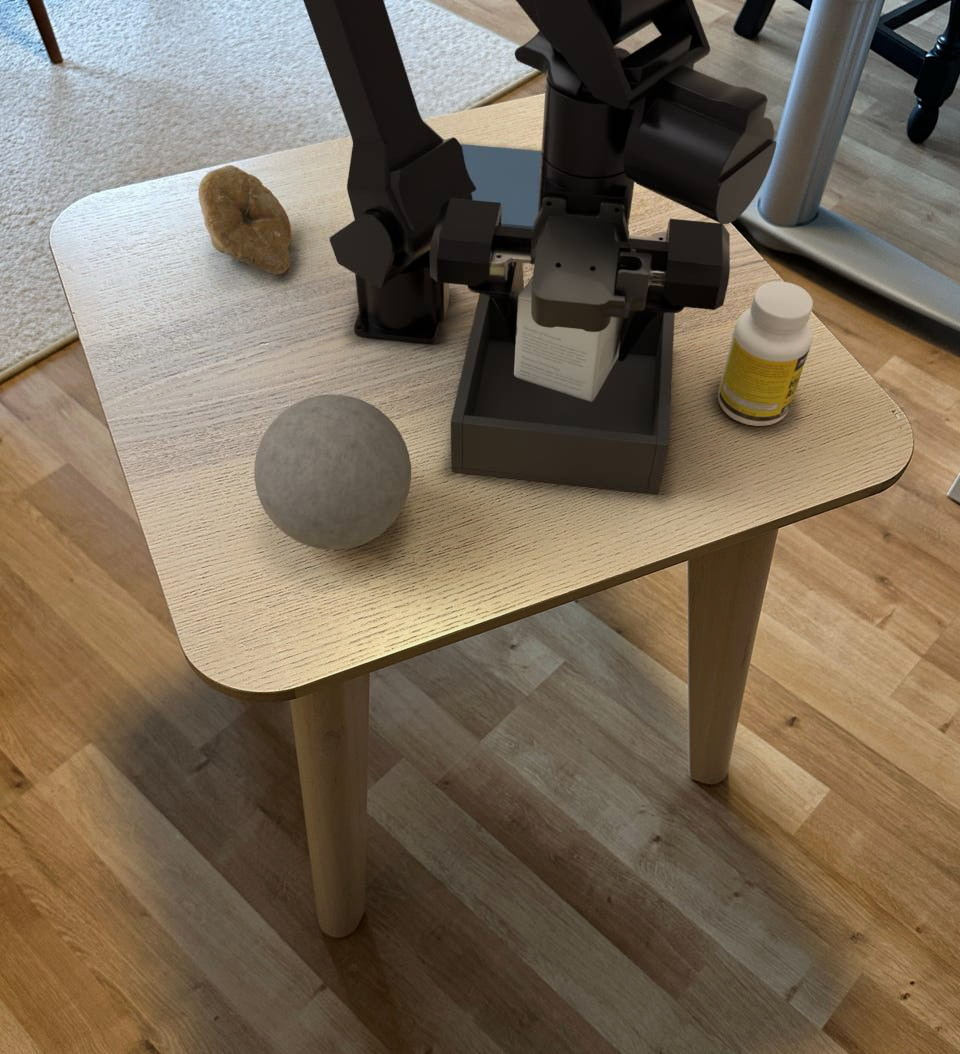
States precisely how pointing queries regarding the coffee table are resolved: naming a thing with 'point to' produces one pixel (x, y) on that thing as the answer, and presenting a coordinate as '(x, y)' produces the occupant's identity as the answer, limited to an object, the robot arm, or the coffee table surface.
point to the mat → (506, 181)
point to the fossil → (245, 219)
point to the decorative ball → (332, 472)
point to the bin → (563, 415)
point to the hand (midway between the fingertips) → (569, 351)
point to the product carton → (564, 353)
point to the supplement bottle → (767, 355)
